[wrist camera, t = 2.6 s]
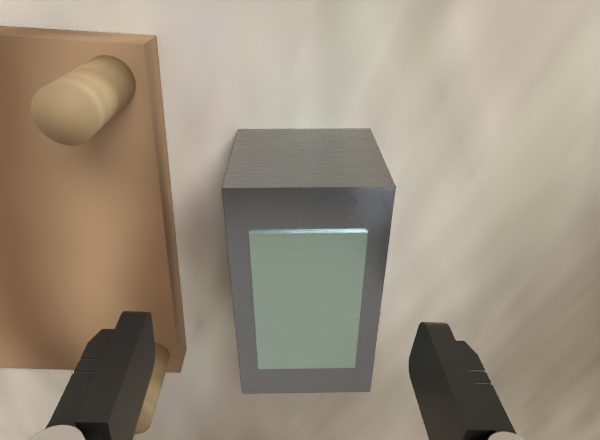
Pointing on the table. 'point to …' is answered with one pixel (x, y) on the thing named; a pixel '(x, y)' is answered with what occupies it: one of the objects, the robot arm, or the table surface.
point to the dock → (84, 199)
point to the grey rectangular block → (307, 256)
